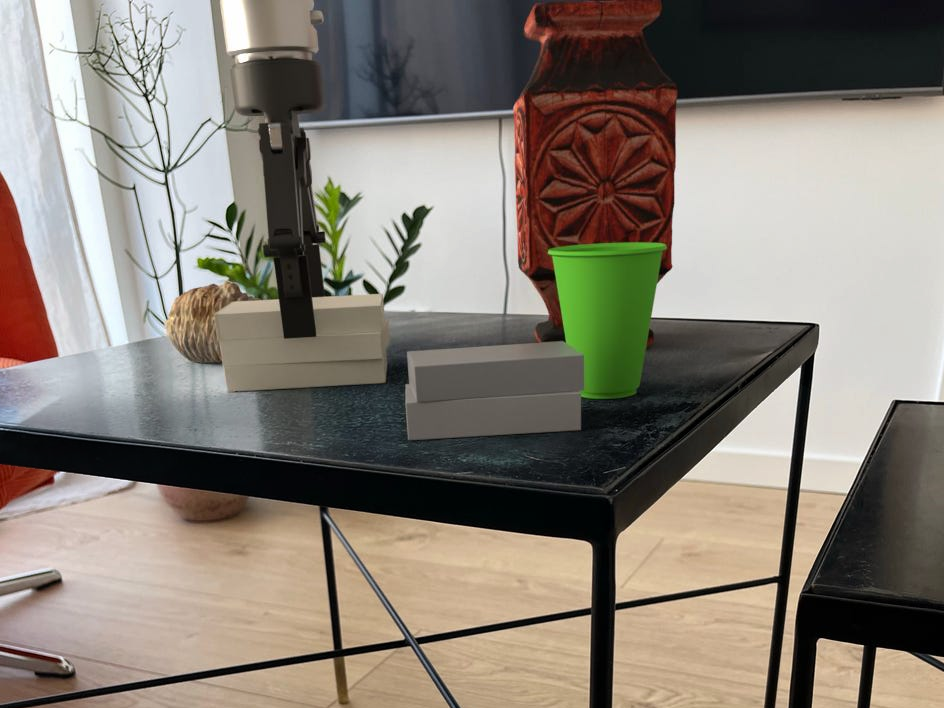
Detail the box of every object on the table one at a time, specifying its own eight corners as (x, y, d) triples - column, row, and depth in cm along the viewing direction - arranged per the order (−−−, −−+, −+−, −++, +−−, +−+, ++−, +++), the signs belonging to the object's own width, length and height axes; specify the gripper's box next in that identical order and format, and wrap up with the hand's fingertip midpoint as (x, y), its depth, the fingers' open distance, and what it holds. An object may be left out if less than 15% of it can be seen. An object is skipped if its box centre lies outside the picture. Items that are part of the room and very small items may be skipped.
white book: (217, 340, 88) (213, 314, 87) (235, 325, 97) (231, 301, 96) (382, 331, 88) (380, 305, 87) (384, 317, 97) (382, 293, 97)
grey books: (408, 441, 70) (402, 367, 67) (408, 417, 76) (403, 349, 74) (586, 430, 70) (586, 356, 68) (570, 408, 77) (569, 340, 75)
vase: (643, 331, 112) (650, 14, 99) (670, 349, 99) (682, -10, 87) (518, 338, 112) (509, 21, 99) (529, 357, 99) (521, -2, 87)
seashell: (173, 395, 111) (123, 313, 104) (230, 343, 116) (186, 261, 109) (258, 401, 103) (210, 313, 96) (315, 345, 108) (273, 258, 101)
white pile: (225, 393, 89) (217, 341, 87) (243, 372, 99) (236, 325, 97) (390, 384, 90) (386, 332, 88) (392, 364, 99) (388, 317, 98)
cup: (536, 402, 79) (532, 253, 75) (567, 381, 87) (566, 243, 82) (650, 406, 76) (653, 250, 72) (672, 383, 84) (676, 241, 80)
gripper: (307, 40, 73) (340, 344, 82) (329, 71, 95) (353, 306, 104) (202, 46, 72) (247, 350, 81) (249, 75, 95) (280, 311, 104)
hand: (307, 326), depth 93 cm, fingers open, 13 cm apart
